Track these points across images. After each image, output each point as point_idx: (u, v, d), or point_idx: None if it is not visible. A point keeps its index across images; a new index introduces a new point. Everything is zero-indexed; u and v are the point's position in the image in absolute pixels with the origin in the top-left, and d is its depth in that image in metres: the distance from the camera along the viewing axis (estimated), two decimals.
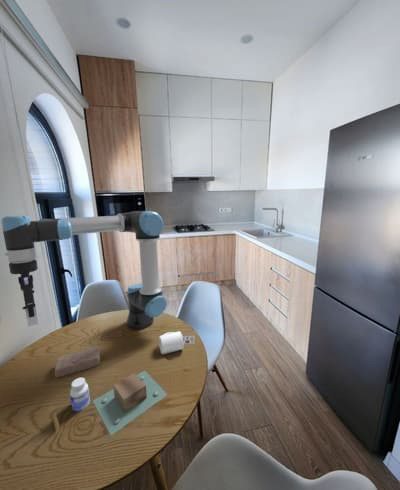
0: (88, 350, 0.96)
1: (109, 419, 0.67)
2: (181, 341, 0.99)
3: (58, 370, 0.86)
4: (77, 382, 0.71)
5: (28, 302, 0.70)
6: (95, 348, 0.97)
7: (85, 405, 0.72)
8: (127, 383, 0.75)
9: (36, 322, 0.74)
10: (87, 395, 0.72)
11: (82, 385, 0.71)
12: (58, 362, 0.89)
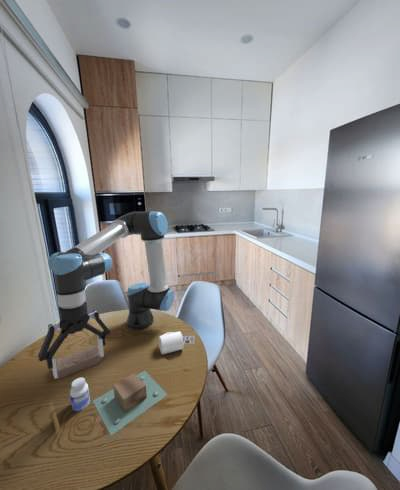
0: (87, 349, 0.97)
1: (109, 419, 0.67)
2: (181, 341, 0.99)
3: (60, 371, 0.86)
4: (77, 382, 0.71)
5: (40, 352, 0.63)
6: (93, 347, 0.98)
7: (85, 405, 0.72)
8: (127, 383, 0.75)
9: (54, 376, 0.65)
10: (87, 395, 0.72)
11: (82, 385, 0.71)
12: (58, 364, 0.88)
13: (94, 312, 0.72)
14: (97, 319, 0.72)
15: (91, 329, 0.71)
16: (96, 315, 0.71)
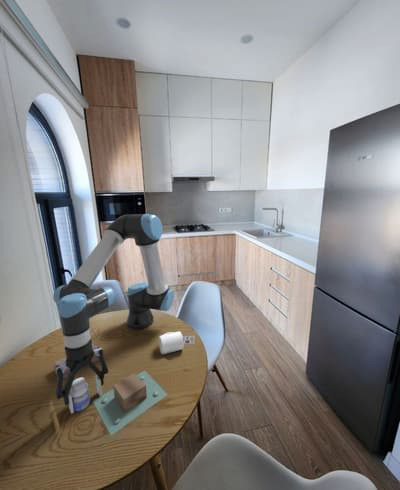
0: None
1: (109, 419, 0.67)
2: (181, 341, 0.99)
3: None
4: (77, 382, 0.71)
5: (56, 391, 0.67)
6: None
7: (85, 405, 0.72)
8: (127, 383, 0.75)
9: (70, 411, 0.70)
10: (87, 395, 0.72)
11: (82, 385, 0.71)
12: None
13: (99, 349, 0.75)
14: (100, 357, 0.74)
15: (93, 367, 0.73)
16: (100, 352, 0.74)
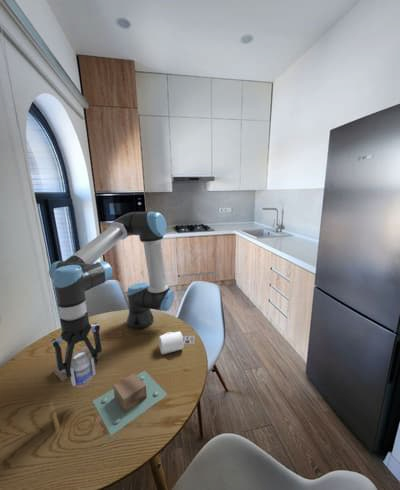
0: (83, 349, 0.97)
1: (109, 419, 0.67)
2: (181, 341, 0.99)
3: None
4: (79, 356, 0.71)
5: (57, 364, 0.67)
6: None
7: (87, 379, 0.71)
8: (127, 383, 0.75)
9: None
10: (89, 370, 0.72)
11: (84, 359, 0.70)
12: None
13: (96, 325, 0.73)
14: (96, 333, 0.72)
15: (88, 343, 0.71)
16: (97, 328, 0.72)
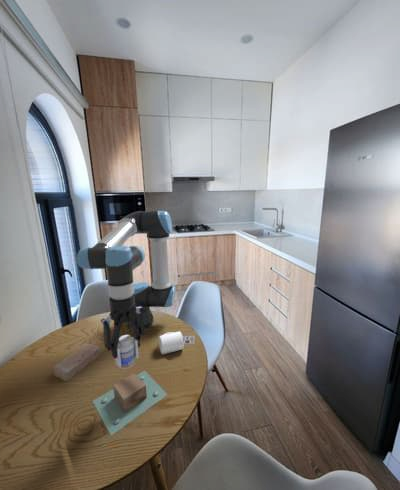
0: (80, 349, 0.97)
1: (109, 419, 0.67)
2: (181, 341, 0.99)
3: (69, 371, 0.85)
4: (124, 338, 0.71)
5: (105, 344, 0.67)
6: (86, 345, 1.00)
7: (131, 361, 0.72)
8: (127, 383, 0.75)
9: (118, 365, 0.69)
10: (133, 352, 0.72)
11: (129, 341, 0.71)
12: (61, 367, 0.86)
13: (140, 307, 0.74)
14: (141, 315, 0.73)
15: (133, 325, 0.71)
16: (142, 310, 0.73)
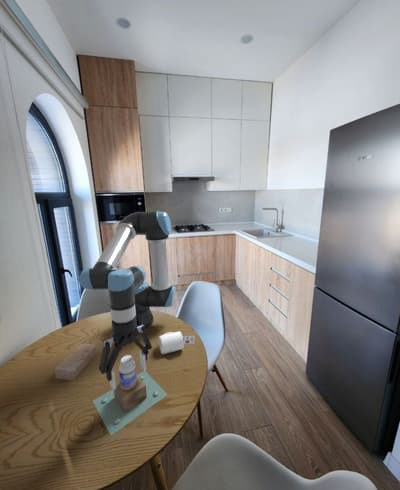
0: (77, 349, 0.97)
1: (109, 419, 0.67)
2: (181, 341, 0.99)
3: (75, 370, 0.86)
4: (126, 359, 0.73)
5: (100, 366, 0.67)
6: (81, 345, 0.99)
7: (133, 382, 0.73)
8: None
9: (112, 387, 0.69)
10: (135, 372, 0.74)
11: (131, 362, 0.72)
12: (65, 368, 0.86)
13: (142, 326, 0.75)
14: (144, 333, 0.75)
15: (138, 343, 0.73)
16: (143, 329, 0.74)
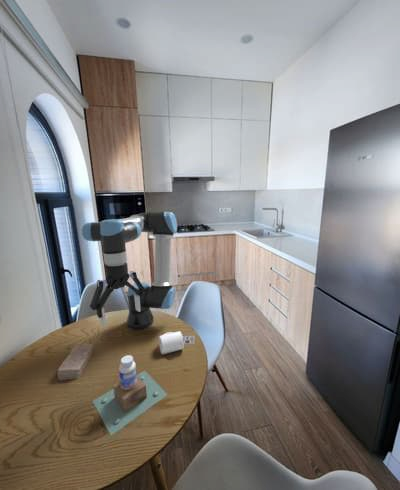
0: (73, 351, 0.96)
1: (109, 419, 0.67)
2: (181, 341, 0.99)
3: (80, 368, 0.87)
4: (126, 359, 0.73)
5: (92, 303, 0.73)
6: (76, 346, 0.99)
7: (133, 382, 0.73)
8: None
9: (103, 324, 0.76)
10: (135, 372, 0.74)
11: (131, 362, 0.72)
12: (69, 368, 0.86)
13: (132, 272, 0.82)
14: (135, 278, 0.82)
15: (131, 286, 0.81)
16: (134, 274, 0.82)
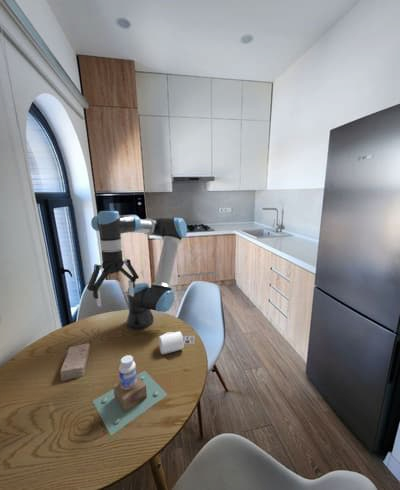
0: (70, 352, 0.95)
1: (109, 419, 0.67)
2: (181, 341, 0.99)
3: (83, 366, 0.88)
4: (126, 359, 0.73)
5: (89, 285, 0.82)
6: (72, 348, 0.98)
7: (133, 382, 0.73)
8: None
9: (98, 305, 0.84)
10: (135, 372, 0.74)
11: (131, 362, 0.72)
12: (72, 367, 0.86)
13: (127, 259, 0.90)
14: (129, 265, 0.90)
15: (125, 272, 0.89)
16: (128, 261, 0.90)
